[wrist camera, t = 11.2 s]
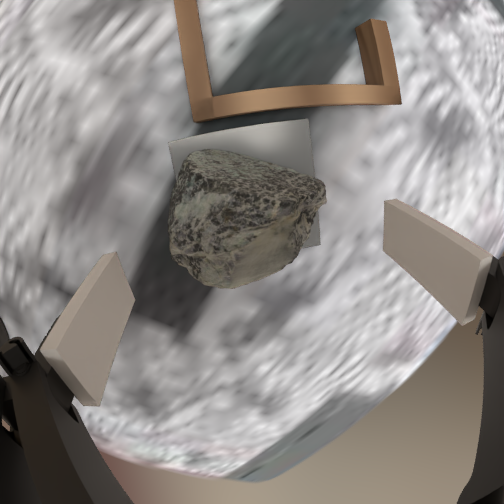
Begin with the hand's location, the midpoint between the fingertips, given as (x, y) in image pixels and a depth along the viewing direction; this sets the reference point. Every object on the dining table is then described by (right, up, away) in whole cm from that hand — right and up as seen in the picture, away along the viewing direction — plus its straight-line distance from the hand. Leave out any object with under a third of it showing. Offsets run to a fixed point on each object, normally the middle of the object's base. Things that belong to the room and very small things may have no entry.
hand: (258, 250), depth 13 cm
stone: (-1, +4, +10) cm, 11 cm away
